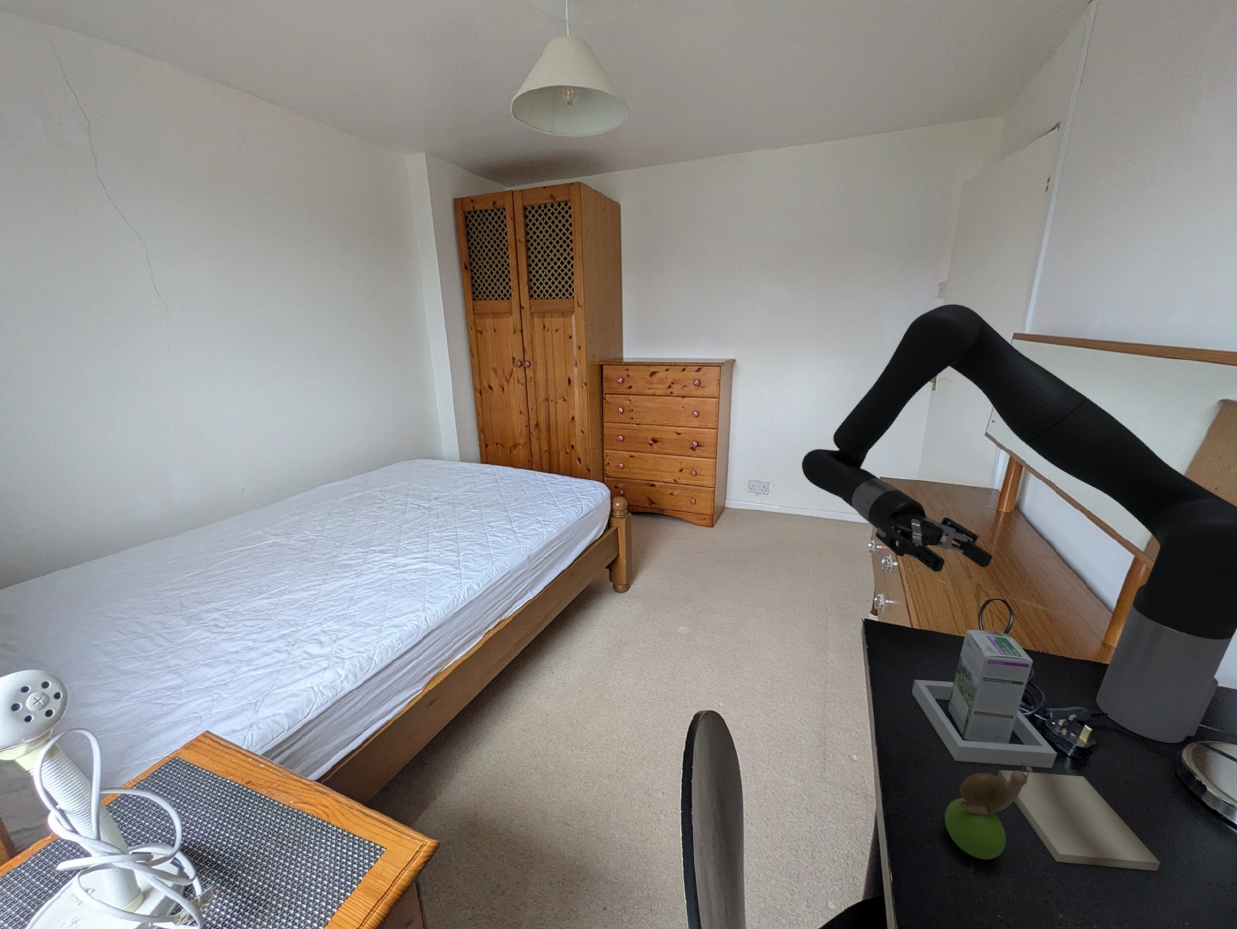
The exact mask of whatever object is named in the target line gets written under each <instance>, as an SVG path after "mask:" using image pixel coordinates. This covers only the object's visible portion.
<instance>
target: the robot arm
mask: <svg viewBox="0 0 1237 929" xmlns="http://www.w3.org/2000/svg"><path fill="white" fill-rule="evenodd" d="M949 367H950V368H952V369H953V370H954V371H956V372H957V373H958V374H960V375H962V376H963V377H964V378H966V379H967V380H968V381H970V382H971V383H972V384H974V385H975V386H976V387H977V388H978V389H979V390H980V391H981V392H982V393H983V394H984V395H985V396H986V398H987V400H988V401H989V402H990V404H991V405H992V406H993V408H994V409H995V411H996V412H997V414H998V415H999V417H1000V418H1001V419H1002V421H1003V422H1004V423H1005V425H1006V426H1007V427H1008V428H1009V430H1010V431H1011V432H1012V433H1013V434H1014V435H1015V436H1016V437H1017V439H1019V440H1020V441H1022V442H1023V443H1024V444H1025V445H1027V446H1028V447H1029V448H1030V449H1032V450H1033V451H1034V452H1036V454H1038V455H1039V456H1040V457H1042V458H1043V459H1044V460H1046V462H1048V463H1050V464H1051V465H1052V466H1054V467H1056V468H1057V469H1059V470H1061V471H1062V472H1064V473H1066V474H1067V475H1069V476H1071V477H1072V478H1075V479H1077V480H1079V481H1080V482H1082V483H1085V484H1086V485H1088V486H1090V487H1093V488H1094V489H1096V490H1098V491H1100V492H1102V493H1103V494H1105V495H1107V496H1108V497H1110V498H1111V499H1112V500H1114V501H1115V502H1116V503H1118V504H1119V505H1120V506H1121V507H1123V508H1124V509H1125V510H1126V511H1127V512H1128V513H1129V514H1130V515H1132V516H1133V517H1134V518H1135V519H1136V520H1137V521H1138V522H1139V523H1140V524H1141V525H1142V526H1143V527H1145V529H1146V530H1147V531H1148V532H1149V533H1150V534H1151V535H1152V536H1153V538H1154V539H1156V541H1157V543H1158V544H1159V550H1158V552H1157V555H1156V558H1155V561H1154V563H1153V565H1152V568H1151V570H1150V573H1149V576H1148V577H1147V580H1146V582H1145V583H1144V584H1142V585H1140V586H1139V587H1138V589H1137V591H1136V593H1135V595H1134V598H1133V601H1132V604H1131V606H1130V608H1129V611H1128V615H1127V616H1126V620H1125V623H1124V625H1123V627H1122V630H1121V633H1120V635H1119V638H1118V640H1117V643H1116V646H1115V648H1114V651H1113V654H1112V655H1111V658H1110V661H1109V664H1108V666H1107V670H1106V671H1105V674H1104V677H1103V679H1102V682H1101V684H1100V687H1099V689H1098V693H1097V695H1096V699H1095V703H1096V704H1097V706H1098V707H1099V709H1100V710H1101V711H1102V712H1103V713H1104V714H1105V713H1107V714H1108V715H1106V716H1107V717H1108V718H1110V719H1111V720H1112V721H1113V722H1115V723H1116V724H1118V725H1119V726H1121V727H1123V728H1124V729H1126V730H1127V731H1130V732H1133V733H1135V734H1136V735H1138V736H1142V737H1145V738H1147V739H1150V740H1154V741H1157V742H1162V743H1168V744H1171V743H1172V744H1177V743H1181V742H1183V741H1185V739H1186V737H1194V736H1195V734H1196V733H1197V731H1198V728H1199V727H1200V723H1201V722H1202V720H1203V717H1204V715H1205V714H1206V712H1207V709H1208V707H1209V705H1210V703H1211V701H1212V698H1213V697H1214V694H1215V692H1216V690H1217V688H1218V686H1219V681H1218V679H1216V678H1215V676H1216V674H1217V672H1218V670H1219V669H1220V668H1219V667H1220V665H1221V663H1222V661H1223V659H1224V657H1225V654H1226V652H1227V650H1228V648H1229V646H1230V644H1231V642H1232V640H1233V638H1234V635H1235V633H1236V631H1237V506H1236V505H1235V504H1233V503H1231V502H1230V501H1228V500H1226V499H1224V498H1222V497H1221V496H1219V495H1218V494H1215V493H1214V492H1212V491H1210V490H1208V489H1206V488H1205V487H1203V486H1202V485H1200V484H1199V483H1197V482H1195V481H1194V480H1192V479H1190V478H1189V477H1187V476H1186V475H1184V474H1182V473H1180V471H1178V470H1176V469H1175V468H1173V467H1172V466H1171V465H1169V464H1168V463H1167V462H1165V461H1164V460H1163V459H1162V458H1161V457H1159V456H1158V455H1157V454H1156V453H1155V452H1154V451H1153V449H1151V448H1150V447H1149V446H1148V445H1147V444H1146V443H1145V442H1144V441H1143V440H1142V439H1140V438H1139V437H1138V436H1137V435H1136V434H1135V433H1133V431H1132V430H1130V429H1129V428H1128V427H1127V426H1125V425H1124V424H1122V422H1120V421H1119V420H1118V419H1117V418H1115V417H1114V416H1113V415H1112V414H1110V412H1108V411H1106V410H1105V409H1103V408H1102V407H1101V406H1100V405H1098V404H1097V403H1095V401H1093V400H1091V399H1090V398H1088V397H1087V396H1085V395H1084V394H1083V393H1081V392H1080V391H1079V390H1077V389H1075V388H1074V387H1072V386H1071V385H1069V384H1068V383H1067V382H1066V381H1064V380H1062V379H1061V378H1059V377H1058V376H1057V375H1055V374H1053V373H1052V372H1051V371H1049V370H1048V369H1046V368H1045V367H1043V366H1041V365H1040V364H1039V363H1037V362H1035V361H1034V360H1032V359H1030V358H1029V357H1028V356H1027V355H1024V354H1023V353H1022V352H1020V351H1019V350H1018V349H1017V348H1015V346H1013V345H1012V344H1011V343H1010V342H1008V341H1007V340H1006V339H1005V338H1004V336H1002V335H1001V334H1000V333H999V332H998V331H997V330H995V329H994V328H993V327H992V326H991V324H989V323H988V322H987V321H986V320H985V319H984V318H983V317H982V316H981V315H979V314H978V313H977V312H976V311H975V310H973V309H971V308H969V307H968V306H965V305H961V304H953V303H952V304H944V305H940V306H937V307H935V308H933V309H931V310H928V311H926V312H925V313H922V314H921V315H919V316H917V318H915V319H914V320H913V321H912V322H911V323H910V325H909V326H908V328H907V329H906V330H905V332H904V334H903V336H902V338H901V339H900V341H899V343H898V345H897V347H896V348H895V350H894V352H893V354H892V356H891V357H890V360H889V361H888V363H887V364H886V366H885V367H884V369H883V371H882V372H881V374H880V375H879V376H878V378H877V380H876V381H875V382H874V384H873V385H872V386H871V387H870V388H869V389H868V390H867V392H866V393H865V394H864V396H863V397H862V398H861V400H859V402H858V403H857V404H856V405H855V407H854V408H853V409H852V410H851V411H850V412H849V414H848V415H846V418H845V419H844V420H842V422H841V424H840V425H839V426H838V427H837V429H836V430H835V432H834V434H833V438H832V440H833V443H834V445H835V446H836V448H837V449H838V450H835V449H833V450H832V449H823V448H817V449H816V448H815V449H812V450H810V451H809V452H807V453H806V454H805V455H804V457H803V459H802V461H801V469H802V472H803V476H804V477H805V478H806V479H807V480H808V482H810V483H811V484H813V485H814V486H815V487H817V488H819V489H821V490H823V491H825V492H827V493H829V494H831V495H833V496H836V497H838V498H840V499H841V500H842V501H843V502H845V503H846V504H847V505H849V507H851V508H853V510H855V511H856V512H857V513H858V514H859V516H861V517H862V518H863V519H864V520H865V521H867V522H868V524H869V523H870V524H871V526H873V527H875V529H877V530H876V532H875V537H876V538H877V539H878V540H879V541H881V543H883V544H884V545H885V546H886V547H887V548H888V549H889V550H891V551H892V553H894V554H896V556H898V557H904V556H905V555H908V556H909V557H910V558H912V559H917V560H918V561H920V562H921V563H922V564H923V565H924V566H926V567H927V568H928V569H930V570H931V571H933V572H935V573H938V572H942V570H943V568H944V565H945V564H946V563H945V559H944V558H943V557H941V555H939V554H938V553H936V552H935V551H934V550H932V549H931V548H929V547H928V546H933V547H937V548H940V549H943V550H947V551H948V550H949V549H950V550H953V551H956V552H959V553H962V555H963V556H965V557H966V558H967V559H969V560H970V561H972V562H973V563H975V564H976V565H978V566H979V567H980V568H986V567H987V568H988V567H989V565H990V563H991V561H992V559H993V556H992V554H991V553H989V552H988V551H986V550H985V549H983V548H982V547H980V546H979V545H977V544H976V542H977V541H978V540H979V535H977V534H976V533H974V532H973V531H971V530H969V529H968V528H967V527H964V526H963V525H961V524H959V523H958V522H956V521H955V520H953V519H951V518H949V517H943V518H942V520H941V521H936V520H935V519H932V518H930V517H927V515H926V512H925V508H924V506H923V505H922V504H921V503H920V502H918V501H917V500H915V499H914V498H912V497H911V496H909V495H908V494H906V493H904V492H903V491H901V490H900V489H899V488H897V487H896V486H894V485H892V484H890V483H888V482H886V481H884V480H882V479H881V478H880V477H877V476H876V475H875V474H873V473H871V472H870V471H868V470H866V469H864V468H862V466H863V464H864V462H865V459H866V458H867V455H868V453H869V451H870V450H871V449H872V448H873V447H874V446H875V445H876V444H877V442H878V441H879V440H880V439H881V438H883V436H884V435H885V434H886V432H887V431H888V430H889V429H890V428H891V426H892V425H893V424H894V422H895V421H896V419H897V418H898V417H899V416H900V413H901V412H902V411H903V409H904V408H905V407H906V405H907V404H908V403H909V402H910V401H911V399H912V398H913V397H914V396H915V395H916V394H917V393H918V392H919V391H920V390H921V389H922V388H923V387H924V386H926V384H928V383H929V382H930V381H932V380H933V379H935V377H936V376H938V375H939V374H941V373H943V371H944V370H946V369H947V368H949ZM943 536H944V537H946V538H945V541H941V540H942V538H943ZM952 541H953V542H954V543H953V542H952ZM897 543H898V544H897Z"/></svg>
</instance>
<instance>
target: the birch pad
mask: <svg viewBox="0 0 1237 929" xmlns="http://www.w3.org/2000/svg"><path fill="white" fill-rule="evenodd" d="M1013 771H1014V770H1003V769H1001V770H1000V769H999V770H998V772H997V775H996V776H997V777H998V778H1000V779H1001V780H1002V781H1003V782H1004V784H1005V785H1006V784H1007V782H1008V781H1009V780H1010V778H1011V773H1012V772H1013ZM1022 772H1023V773H1024V774H1025V775H1026V776H1027V774H1028V772H1026V771H1022ZM1013 803H1014V804H1015V805H1016V807H1017V808H1018V809H1019V810H1020V812H1021V813H1022V815H1023V816H1024V818H1025V819H1026V820H1027V822H1028V823H1029V825H1030V826H1031V827H1032V829H1033V830H1034V832H1035V833H1036V835H1037V836H1038V837H1039V839H1040V840H1041V842H1042V843H1043V844H1044V845H1045V847H1046V849H1047V850H1048V852H1049V853H1050V855H1051V856H1052V857H1053V858H1054V860H1055V861H1056V862H1058V863H1066V864H1067V863H1068V864H1079V865H1088V866H1101V867H1111V868H1122V869H1132V870H1133V869H1134V870H1142V871H1143V870H1144V871H1152V872H1153V871H1155V872H1157V871H1158V870H1159V867H1160V865H1161V862H1160V860H1158V858H1157V857H1156V856H1155V855H1154V854H1153V853H1152V852H1151V850H1150V849H1149V848H1148V847H1147V846H1146V845H1145V844H1144V843H1143V842H1142V840H1141V839H1139V837H1138V836H1137V835H1136V834H1135V833H1134V832H1133V831H1132V829H1131V828H1130V827H1129V826H1128V825H1127V824H1126V822H1124V820H1123V819H1122V818H1121V817H1120V816H1119V814H1117V813H1116V811H1115V810H1114V809H1113V807H1111V805H1109V803H1107V801H1106V800H1105V798H1103V797H1102V795H1100V794H1099V793H1098V791H1097V790H1096V789H1095V788H1094V786H1092V785H1091V783H1090V782H1089V781H1088V780H1087V779H1086V778H1085V776H1081V775H1069V774H1068V775H1066V774H1055V773H1054V774H1053V773H1045V772H1044V773H1042V772H1031V773H1029V774H1028V776H1027V783H1026V784H1025V785H1023V786H1022V788H1021V791H1020V793H1019V795H1018V796H1017V797H1016V799H1015V800H1014V801H1013Z"/></svg>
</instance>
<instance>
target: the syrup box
mask: <svg viewBox="0 0 1237 929" xmlns="http://www.w3.org/2000/svg"><path fill="white" fill-rule="evenodd" d="M960 651H961V652H960V654H959V655H960V656H959V659H958V663H957V668H956V672H955V674H954V681H953V682H954V683H953V687H952V691H951V695H950V700H948V704H947V708H946V710H947V711H948V713H949V715H950V717H951V719H952V720H953V722H954V724H955V725H956V727H957V729H958V730H959V733H960V734H961V736H962V739H964V740H965V741H977V742H990V743H1004V744H1010V739H1011V736H1012V733H1013V726H1014V723H1015V720H1016V716H1017V713H1018V710H1019V709H1020V706H1021V703H1022V699H1023V696H1024V692H1025V689H1026V686H1027V683H1028V679H1029V676H1030V673H1031V670H1032V666H1033V663H1034V660H1033V659H1032V658H1031V657H1030V655H1028V654H1027V653H1026V651H1025V650H1024V649H1023V648H1022V647H1021V646H1020V645H1019V643H1018V642H1017V641H1016V640H1015V639H1014V638H1013V637H1012V635H1011V634H1009V633H1005V632H999V631H992V630H983V629H980V630H979V629H966V631H965V635H964V639H963V644H962V647H961V650H960ZM1019 711H1020V710H1019Z"/></svg>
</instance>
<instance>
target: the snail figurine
mask: <svg viewBox="0 0 1237 929" xmlns="http://www.w3.org/2000/svg"><path fill="white" fill-rule="evenodd" d="M1021 765H1022V766H1021V767H1022V768H1021V770H1012V771H1013V772H1012V773H1011V778H1010V780H1009V781H1008V782H1007V784H1006V785H1005V784H1004V782H1003V781H1002V780H1001V779H1000V778H998V777H997V775H994V774H993V773H988V772H978V773H975V774H972V775H970V776H968V777H966V778H965V779H964V780H963V781H962V782H961V785H960V787H959V792H960V796H961V797H960V798H956V799H954V800H953V801H951V802H950V803H949V804H947V805H948V806H947V807H946V809H945V812H944V821H945V822H944V823H945V826H946V830H947V832H948V834H949V836H950V837H951V839H952V840H953V841H954V842H953V843H955V844H956V846H958V847H959V848H960V849H961V850H962V851H963V852H964V853H966V854H968V855H969V856H972V857H974V858H976V859H981V860H992V859H995V858H997V857H998V856H1000V855H1001V854H1003V851H1004V849H1005V848H1006V845H1007V844H1006V843H1007V837H1006V836H1007V835H1006V832H1005V829H1004V826H1003V823H1002V821H1001V820H1000V818H999V817H998V815H996V813H998V812H1001V811H1004V810H1006V809H1007V808H1008V807H1009V806H1010V805H1011V804H1012V803H1014V800H1015V799H1016V797H1017V796H1018V795H1019V793H1020V791H1021V788H1022V786H1023V785H1025V784H1026V783H1027V776H1028V774H1029V773H1033V769H1032V768H1033V767H1031V766H1027V763H1026V762H1025V761H1022V762H1021ZM1024 769H1025V771H1027V772H1028V774H1027V776H1026V775H1025V774H1024V773H1023V772H1024Z"/></svg>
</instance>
